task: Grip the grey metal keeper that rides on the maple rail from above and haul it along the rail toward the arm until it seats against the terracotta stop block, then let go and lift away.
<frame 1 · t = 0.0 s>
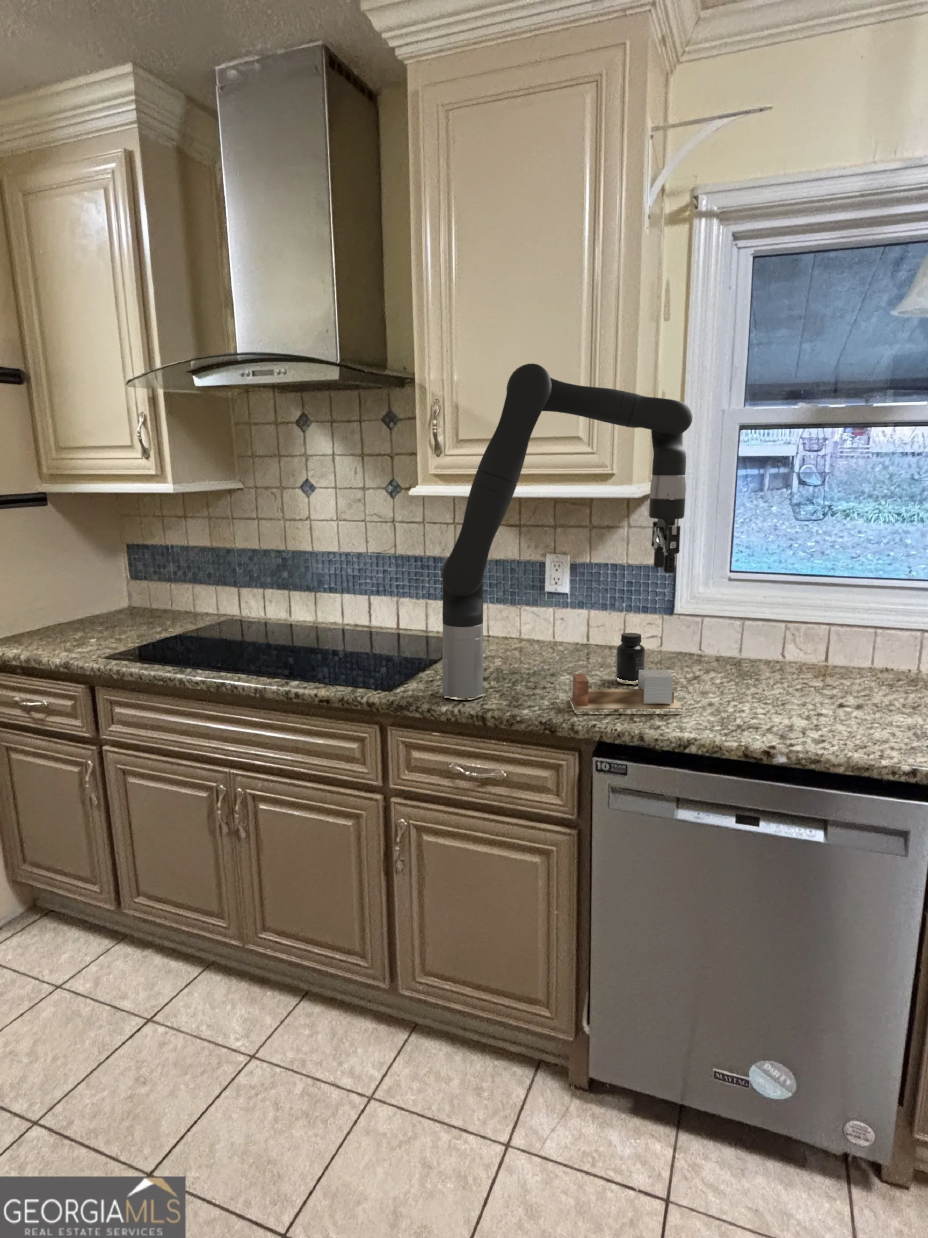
hand: (663, 569, 162), 29 cm above the worktop, tool pointing down, fingers open, 8 cm apart
supplement bottle: (629, 682, 179), on the worktop
keeper: (655, 686, 159), point 5 cm above the worktop, slide at 0.0 cm
rail: (624, 707, 160), on the worktop
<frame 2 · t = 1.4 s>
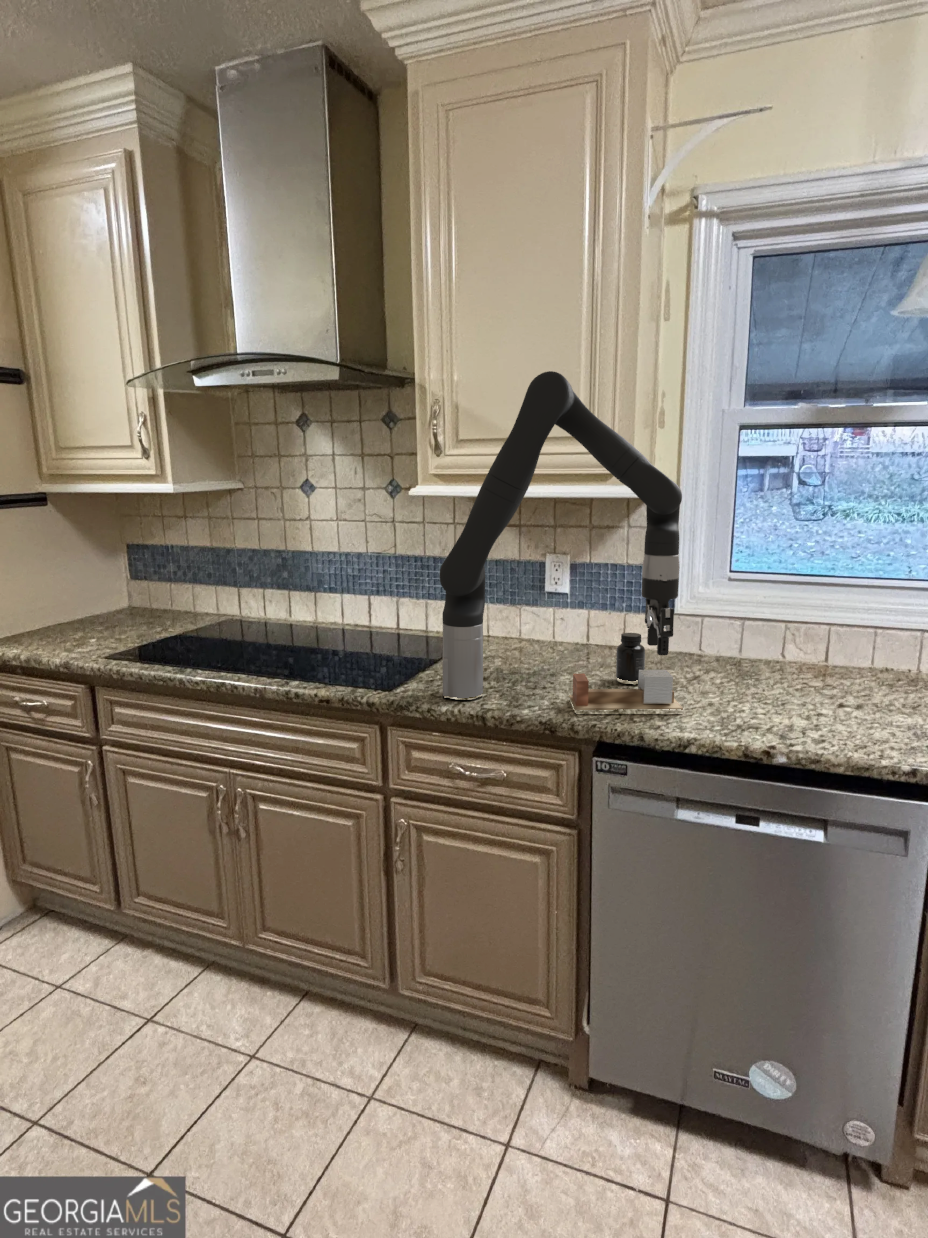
hand: (657, 649, 157), 13 cm above the worktop, tool pointing down, fingers open, 8 cm apart
nothing on the worktop moved.
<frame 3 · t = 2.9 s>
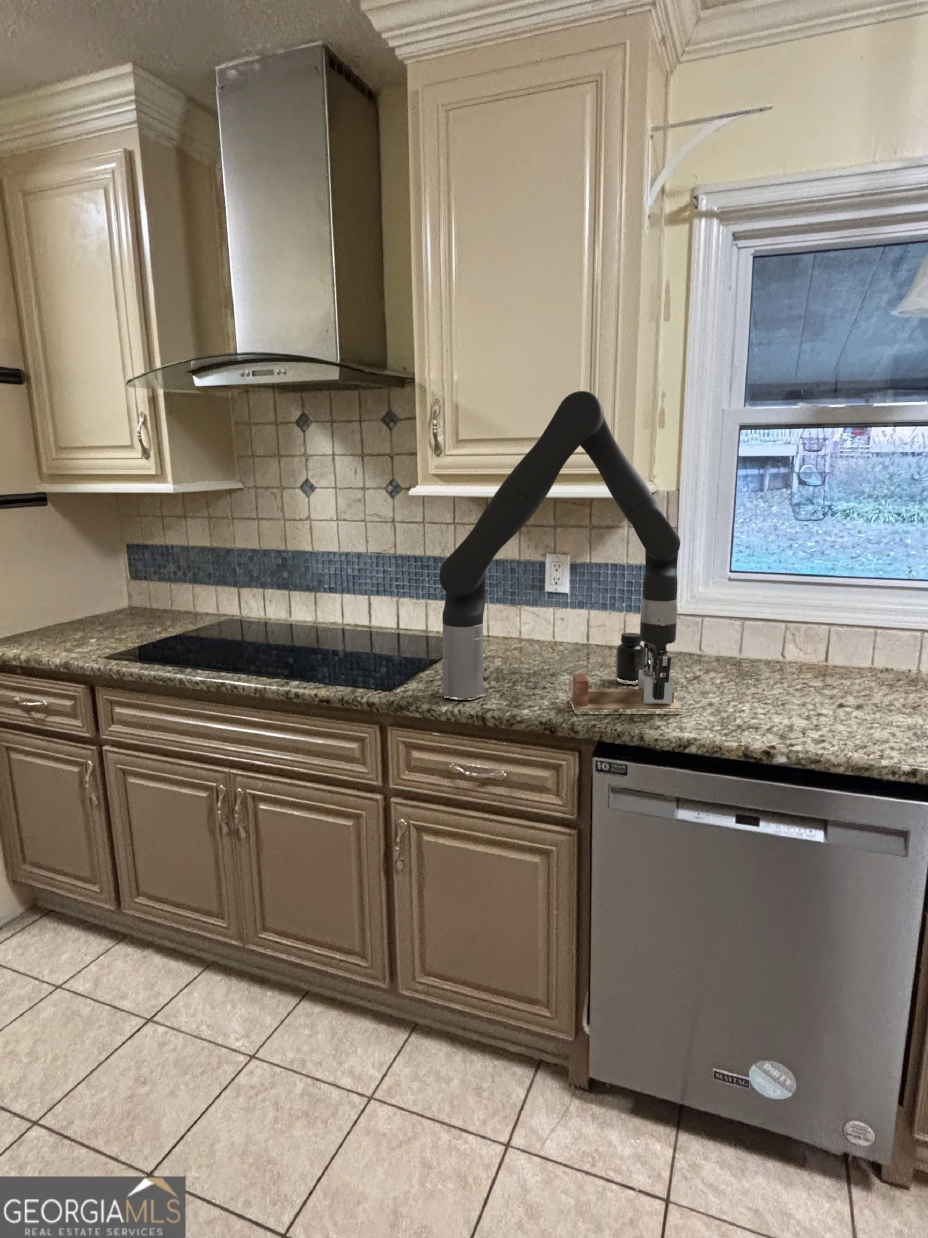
hand: (654, 694, 159), 3 cm above the worktop, tool pointing down, fingers closed on keeper, 5 cm apart
keeper: (655, 686, 159), point 5 cm above the worktop, slide at 0.0 cm, touching gripper
everything else where it was.
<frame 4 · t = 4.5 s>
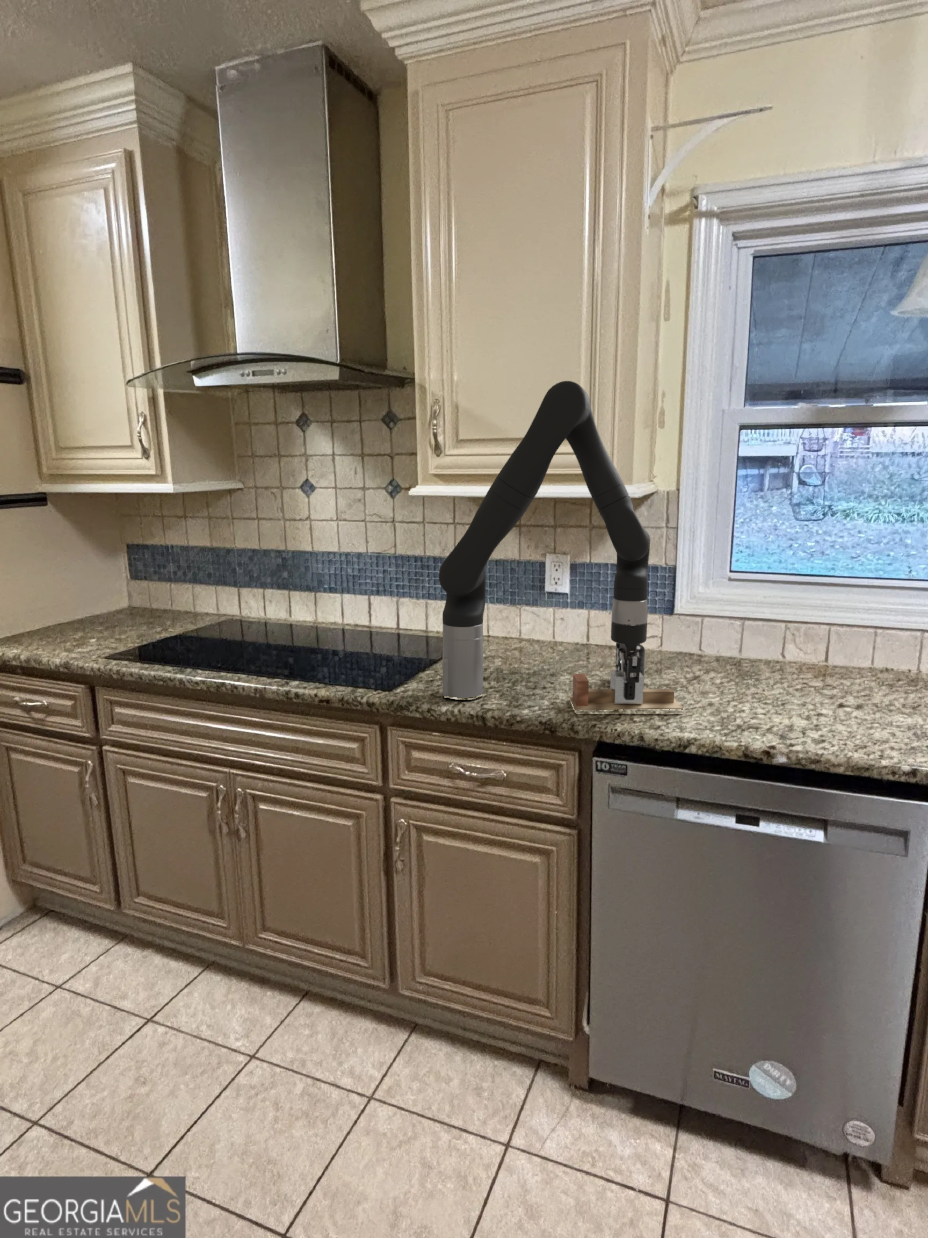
hand: (626, 694, 159), 3 cm above the worktop, tool pointing down, fingers closed on keeper, 5 cm apart
keeper: (626, 686, 159), point 5 cm above the worktop, slide at 6.2 cm, touching gripper
everything else where it was.
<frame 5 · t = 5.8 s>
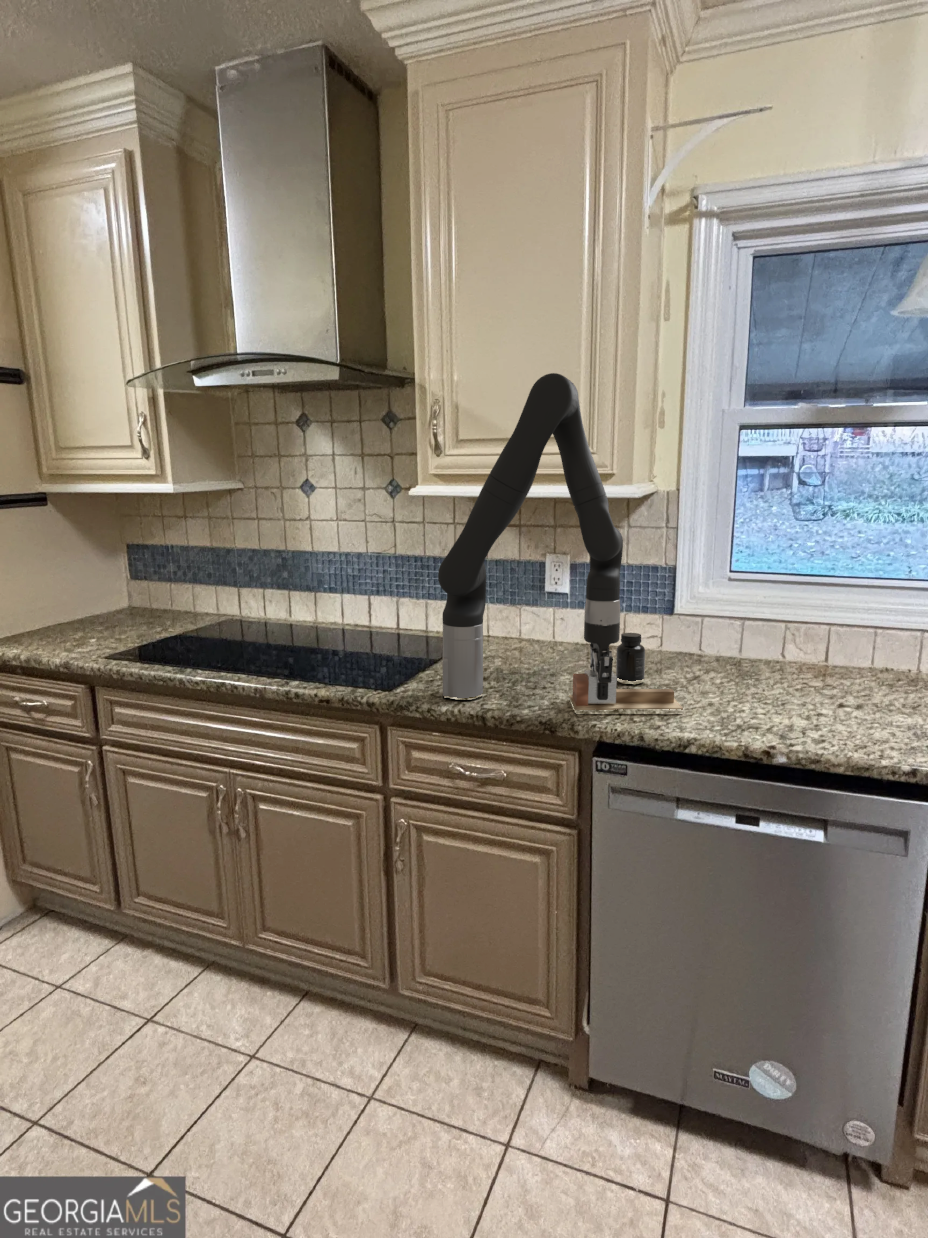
hand: (599, 694, 159), 3 cm above the worktop, tool pointing down, fingers closed on keeper, 5 cm apart
keeper: (600, 686, 159), point 5 cm above the worktop, slide at 12.0 cm, touching gripper, rail
everything else where it was.
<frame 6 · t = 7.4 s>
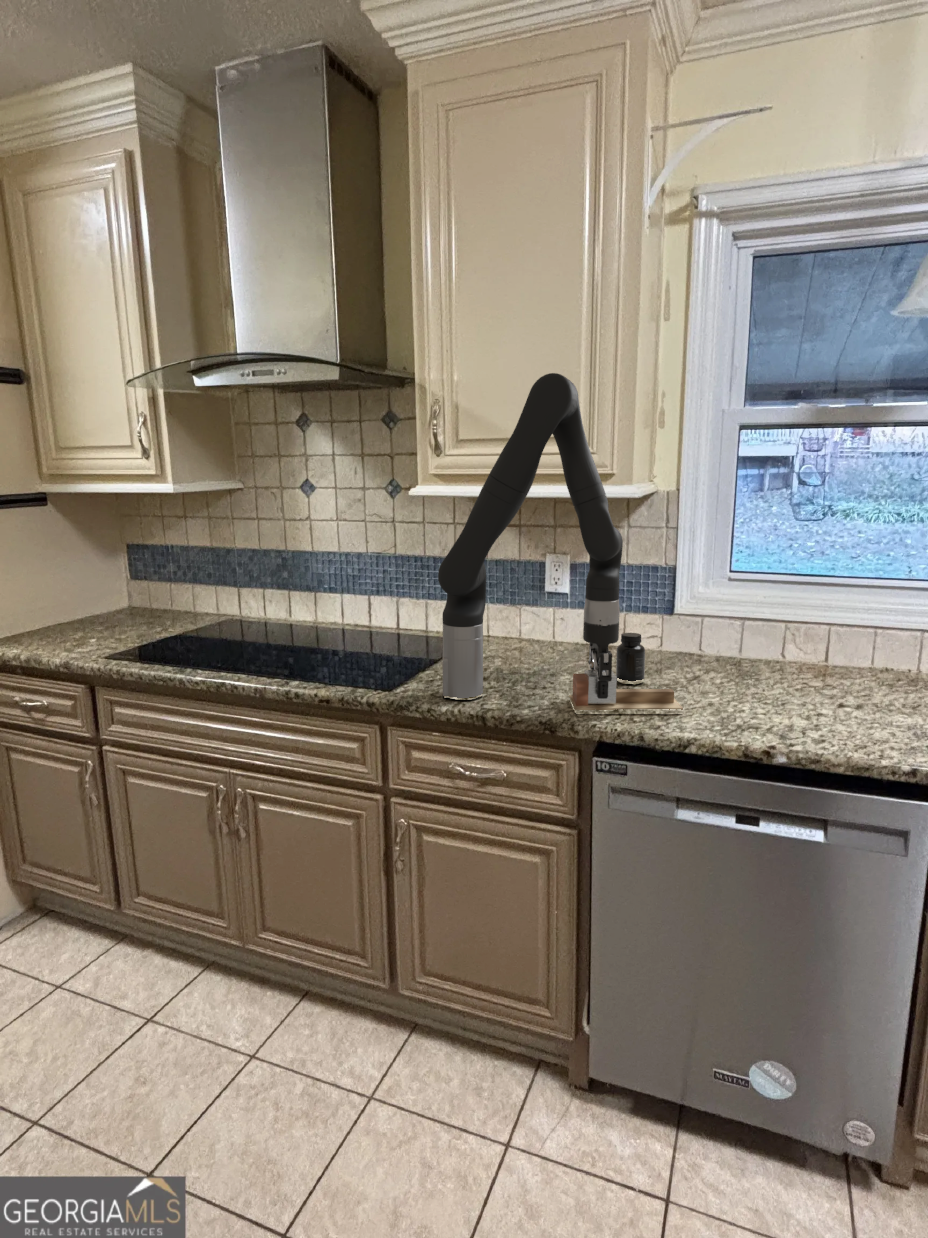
hand: (598, 692, 159), 4 cm above the worktop, tool pointing down, fingers open, 8 cm apart
keeper: (600, 686, 159), point 5 cm above the worktop, slide at 12.0 cm, touching rail
everything else where it was.
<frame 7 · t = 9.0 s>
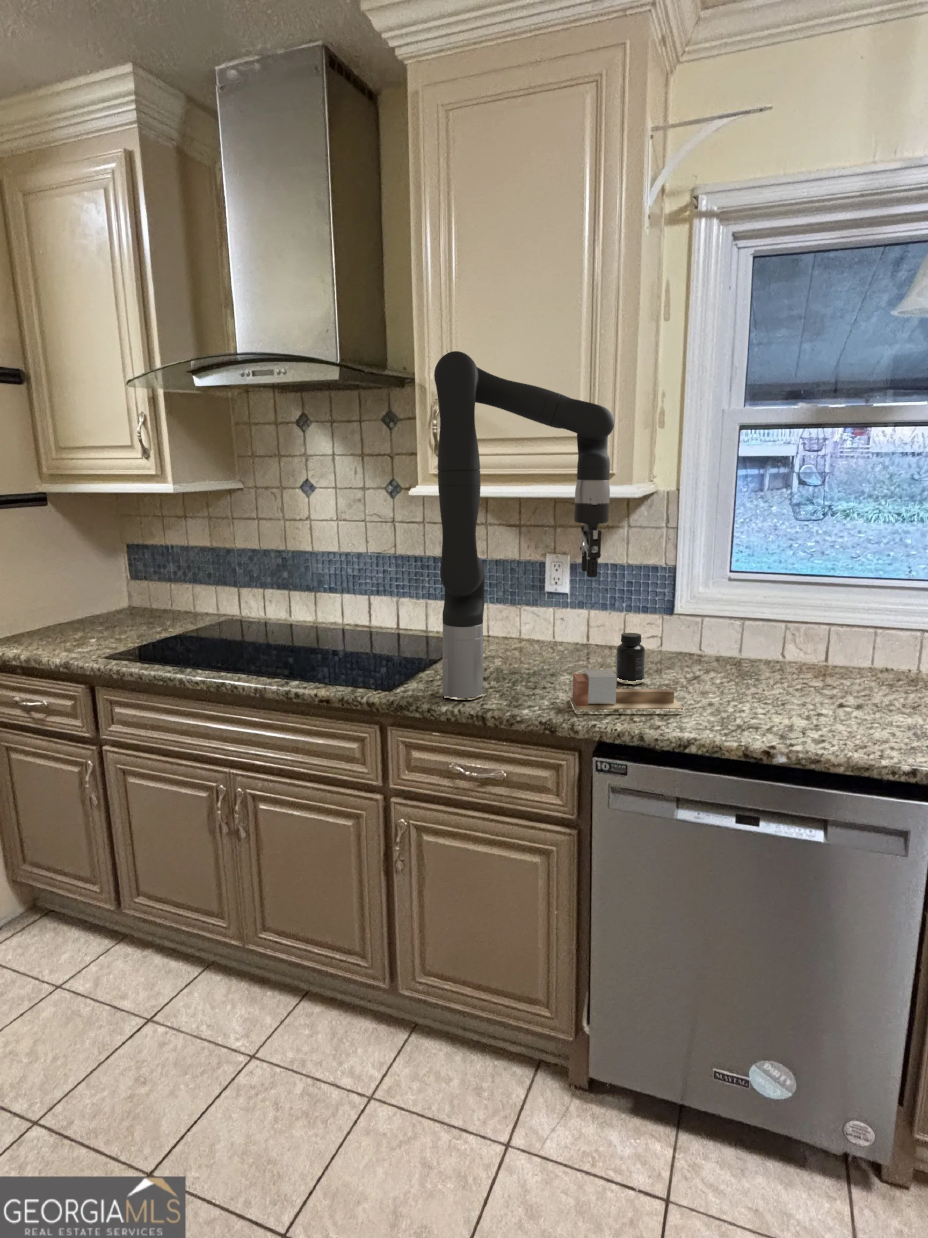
hand: (588, 574, 163), 28 cm above the worktop, tool pointing down, fingers open, 8 cm apart
nothing on the worktop moved.
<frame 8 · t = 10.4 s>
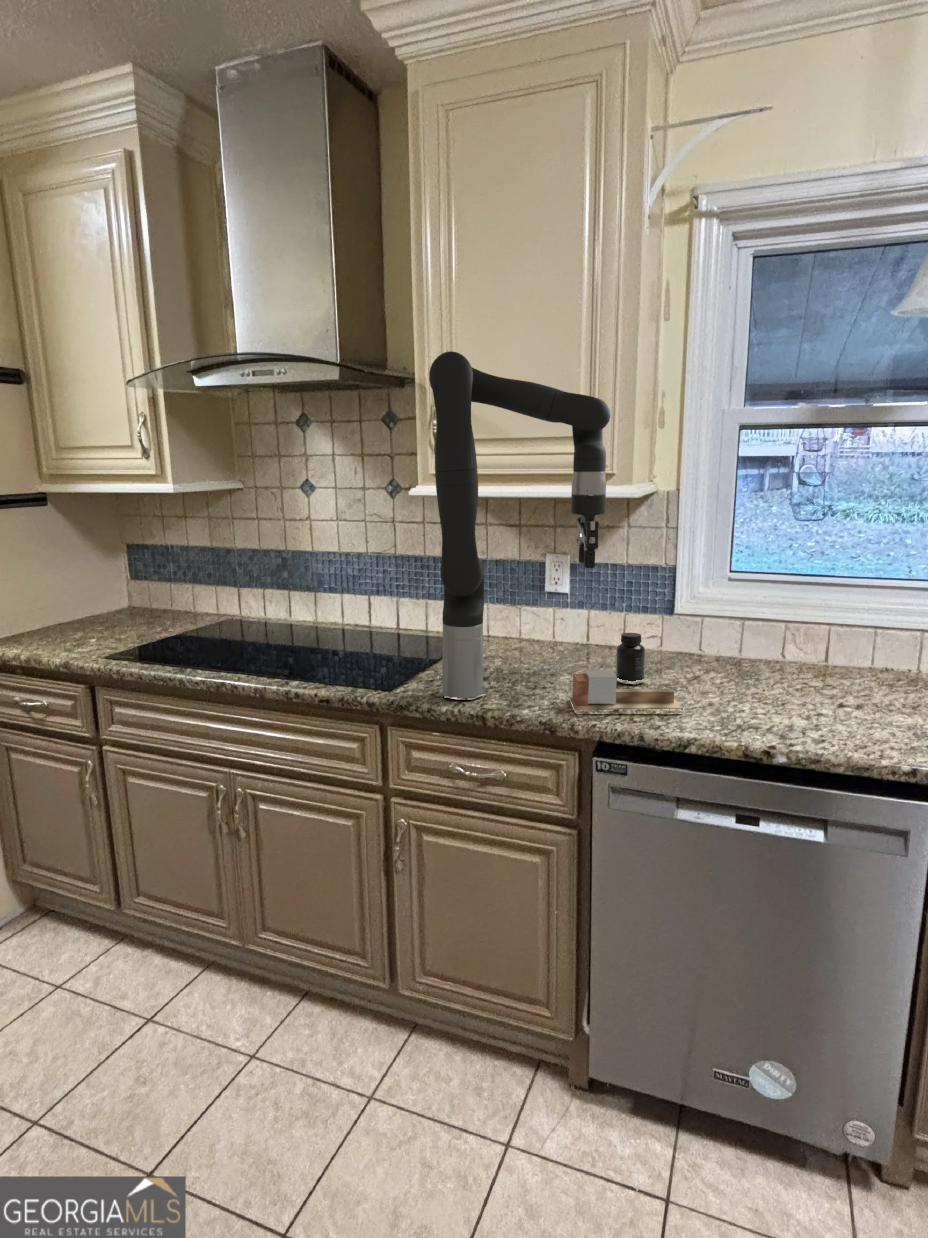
hand: (586, 565, 164), 30 cm above the worktop, tool pointing down, fingers open, 8 cm apart
nothing on the worktop moved.
at the end: keeper slide at 12.0 cm; the gripper is holding nothing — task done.
